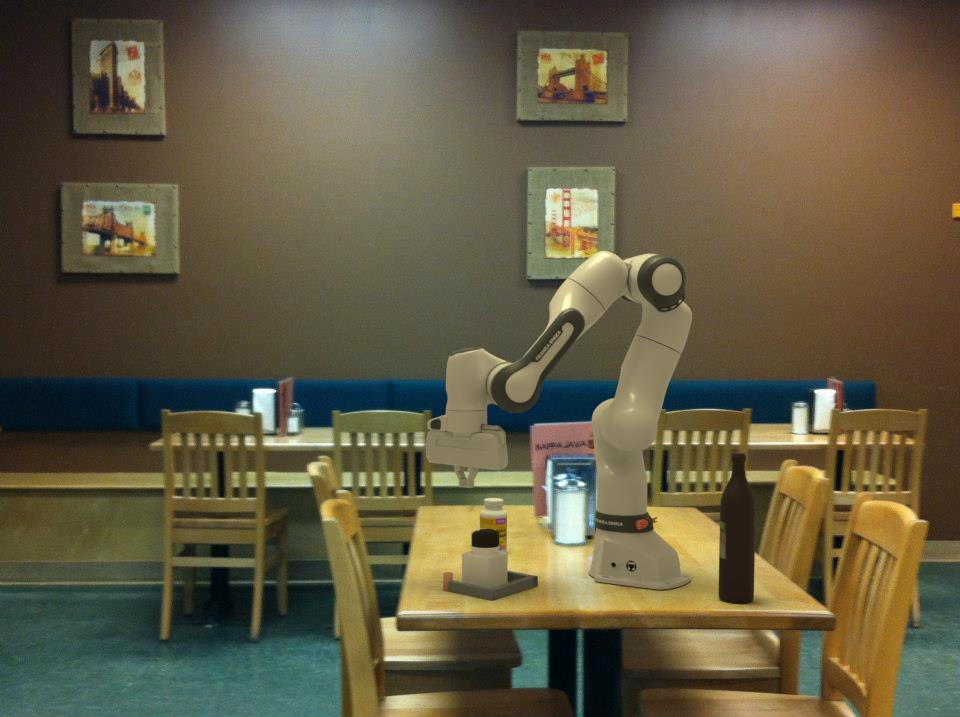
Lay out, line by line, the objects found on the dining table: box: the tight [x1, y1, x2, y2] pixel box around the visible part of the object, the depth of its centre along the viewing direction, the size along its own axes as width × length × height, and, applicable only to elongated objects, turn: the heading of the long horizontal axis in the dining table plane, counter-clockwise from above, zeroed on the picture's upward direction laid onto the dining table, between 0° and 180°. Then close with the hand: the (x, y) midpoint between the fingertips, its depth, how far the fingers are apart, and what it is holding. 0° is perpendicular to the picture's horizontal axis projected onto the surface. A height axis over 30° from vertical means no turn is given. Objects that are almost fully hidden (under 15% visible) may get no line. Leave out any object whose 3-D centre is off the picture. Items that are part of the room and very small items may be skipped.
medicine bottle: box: [461, 528, 509, 588], centre depth 230 cm, size 7×7×12 cm
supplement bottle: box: [479, 497, 508, 552], centre depth 263 cm, size 7×7×13 cm
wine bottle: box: [718, 452, 757, 604], centre depth 220 cm, size 7×7×30 cm
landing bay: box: [442, 570, 539, 601], centre depth 229 cm, size 13×16×4 cm
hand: (466, 487), depth 232 cm, fingers closed
